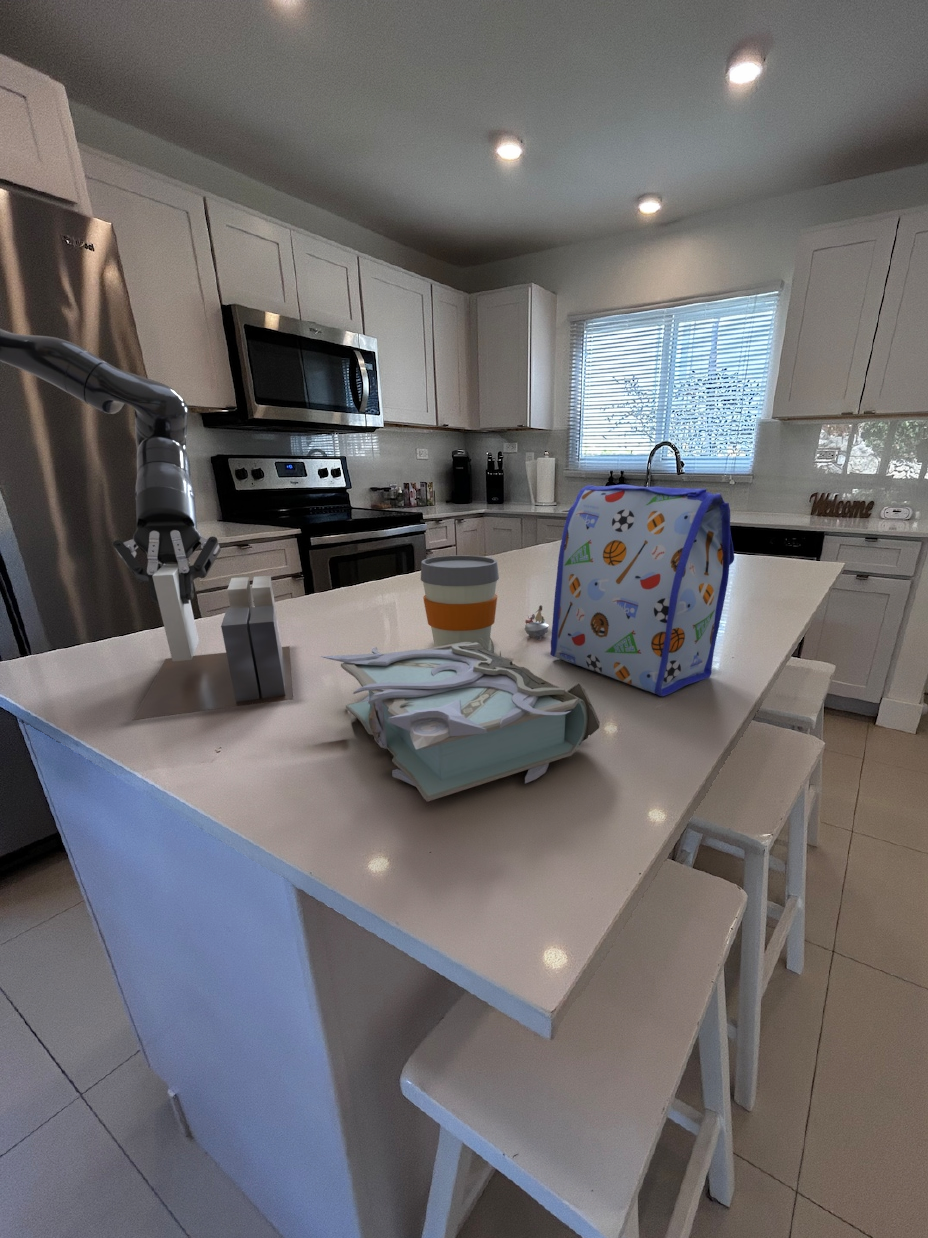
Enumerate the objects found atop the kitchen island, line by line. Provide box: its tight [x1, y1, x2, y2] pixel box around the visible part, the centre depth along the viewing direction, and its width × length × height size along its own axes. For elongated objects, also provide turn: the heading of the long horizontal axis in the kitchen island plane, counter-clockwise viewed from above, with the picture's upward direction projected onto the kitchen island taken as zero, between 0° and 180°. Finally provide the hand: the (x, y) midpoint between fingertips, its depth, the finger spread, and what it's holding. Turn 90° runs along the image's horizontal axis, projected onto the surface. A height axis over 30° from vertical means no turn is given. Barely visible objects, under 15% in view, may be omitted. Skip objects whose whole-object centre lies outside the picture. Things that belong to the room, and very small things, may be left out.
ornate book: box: [318, 635, 601, 803], centre depth 65 cm, size 23×10×30 cm
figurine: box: [524, 604, 550, 641], centre depth 102 cm, size 5×4×6 cm
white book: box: [152, 563, 200, 662], centre depth 81 cm, size 2×9×12 cm, turn 22°
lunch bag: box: [550, 484, 735, 697], centre depth 83 cm, size 23×17×27 cm
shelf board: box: [132, 575, 295, 721], centre depth 78 cm, size 18×24×13 cm
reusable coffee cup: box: [420, 554, 500, 651], centre depth 93 cm, size 13×13×15 cm
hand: (172, 601), depth 78 cm, fingers closed on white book, 2 cm apart
